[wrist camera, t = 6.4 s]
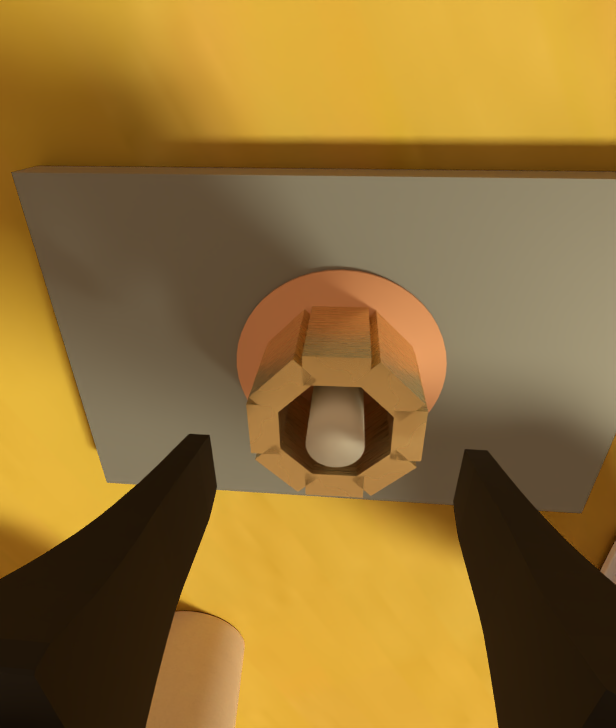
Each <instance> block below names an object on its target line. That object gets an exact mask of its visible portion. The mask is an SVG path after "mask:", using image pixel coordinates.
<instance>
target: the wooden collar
mask: <svg viewBox="0 0 616 728" xmlns="http://www.w3.org/2000/svg"><path fill="white" fill-rule="evenodd" d="M311 385H313V386H341V387H361V388H362V389H364V390H365V391H366V392H367V393H368V394H369V395H370V396H371V397H372V398H374V400H373V401H371V402H370V403H368V404H367V405H366V406H364V436H365V448H364V452H363V454H362V456H361V457H360V458H359V459H358V460H357V461H356V462H354V463H353V464H351V465H348V466H344V467H329V466H325V465H322V464H320V463H318V462H317V461H315V460H314V459H313V458H312V457H311V456H310V455H309V453H308V451H307V449H306V436H307V429H308V422H309V415H310V408H311V403H310V402H309V401H307V400H306V399H305V398H304V397H303V396H302V395H300V394H301V393H303V392H304V391H305V390H306V389H307V388H309V387H310V386H311ZM246 409H247V418H248V428H249V438H250V448H251V453H257V454H256V458H255V460H256V461H258V462H259V463H260V464H262V465H263V466H264V467H266V468H267V469H268V470H270V471H271V472H272V473H274V474H275V475H276V476H278V477H279V478H280V479H281V480H283V481H284V482H285V483H287V484H288V485H289V486H291V487H292V488H293V489H295V490H296V491H297V492H298V491H300V490H301V489H303V488H304V487H305V493H306V495H322V496H340V497H357V498H363V490H364V491H365V492H367V493H368V494H369V495H370V496H371V495H373V494H375V493H376V492H378V491H380V490H381V489H383V488H384V487H386V486H388V485H389V484H391V483H392V482H394V481H396V480H397V479H399V478H400V477H402V476H404V475H405V474H407V473H409V472H410V471H412V470H413V469H415V468H417V467H416V461H421V458H422V451H423V444H424V437H425V430H426V423H427V416H428V409H427V404H426V400H425V395H424V391H423V386H422V382H421V377H420V373H419V368H418V364H417V359H416V354H415V353H414V350H413V346H412V345H411V344H410V343H408V342H407V341H406V340H405V339H404V338H403V337H402V336H401V335H400V334H399V333H398V332H397V331H396V330H395V329H394V328H393V327H392V326H391V325H390V324H389V323H388V322H387V321H386V320H385V319H384V318H383V317H382V316H381V315H380V314H379V313H378V312H377V311H375V312H374V313H373V314H372V315H370V316H369V307H327V306H312V309H311V314H309V313H308V312H307V311H306V310H305V309H304V310H303V311H302V312H301V313H300V314H299V315H297V316H296V317H295V318H294V319H293V320H292V321H291V322H290V323H289V324H288V325H287V326H285V327H284V328H283V329H282V330H281V331H280V332H279V333H278V334H277V335H276V336H275V337H274V338H272V339H271V340H270V341H269V342H268V344H267V347H266V349H265V351H264V354H263V357H262V360H261V363H260V366H259V369H258V372H257V374H256V377H255V380H254V383H253V386H252V389H251V392H250V395H249V397H248V400H247V403H246Z"/></svg>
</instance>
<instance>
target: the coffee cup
mask: <svg viewBox="0 0 616 728" xmlns="http://www.w3.org/2000/svg"><path fill="white" fill-rule="evenodd" d="M243 655H244V640H243V638H242V636H241V634H240V633H239V632H238V631H237V630H236V629H235V628H234V627H233V626H231V625H230V624H229V623H227V622H225V621H223V620H221V619H219V618H217V617H214V616H212V615H208V614H205V613H200V612H193V611H177V612H175V614H174V617H173V621H172V625H171V628H170V632H169V635H168V639H167V643H166V647H165V650H164V654H163V658H162V662H161V666H160V670H159V674H158V678H157V682H156V686H155V690H154V694H153V698H152V703H151V707H150V711H149V715H148V719H147V724H146V728H235V722H236V714H237V706H238V697H239V689H240V680H241V672H242V664H243Z"/></svg>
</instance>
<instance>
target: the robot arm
mask: <svg viewBox="0 0 616 728" xmlns="http://www.w3.org/2000/svg"><path fill="white" fill-rule="evenodd" d="M216 489H217V482H216V475H215V468H214V461H213V454H212V447H211V440H210V435H205V434H188V435H187V436H186V437H185V438H184V439H183V440H182V441H181V442H180V443H179V444H178V445H177V446H176V447H175V448H174V449H173V450H172V451H171V452H170V453H169V454H168V455H167V456H166V457H165V458H164V459H163V460H162V461H161V462H160V463H159V464H158V465H157V466H156V467H155V468H154V469H153V470H152V471H151V472H150V473H149V474H148V475H146V476H145V477H144V478H143V479H142V480H141V481H140V482H139V483H138V484H137V485H136V486H135V487H134V488H132V489H131V490H130V491H129V492H128V493H127V494H125V495H124V496H123V497H122V498H121V499H120V500H119V501H117V502H116V503H115V504H114V505H113V506H112V507H110V508H109V509H108V510H107V511H105V512H104V513H103V514H102V515H100V516H99V517H98V518H96V519H95V520H94V521H92V522H91V523H90V524H88V525H87V526H85V527H84V528H83V529H81V530H80V531H78V532H77V533H76V534H74V535H73V536H71V537H70V538H68V539H66V540H65V541H63V542H62V543H60V544H59V545H57V546H56V547H54V548H53V549H51V550H49V551H48V552H46V553H45V554H43V555H42V556H40V557H38V558H37V559H35V560H33V561H31V562H30V563H28V564H26V565H25V566H23V567H21V568H19V569H17V570H16V571H14V572H12V573H10V574H8V575H6V576H5V577H3V578H1V579H0V728H146V724H147V719H148V715H149V711H150V707H151V703H152V698H153V694H154V690H155V686H156V682H157V678H158V674H159V670H160V666H161V662H162V658H163V654H164V650H165V647H166V643H167V639H168V635H169V632H170V628H171V625H172V621H173V617H174V614H175V610H176V607H177V604H178V601H179V598H180V595H181V592H182V589H183V586H184V584H185V581H186V579H187V576H188V573H189V571H190V568H191V566H192V563H193V560H194V558H195V555H196V553H197V550H198V547H199V545H200V542H201V540H202V537H203V534H204V532H205V529H206V526H207V524H208V521H209V518H210V514H211V510H212V506H213V502H214V498H215V494H216ZM453 505H454V513H455V520H456V527H457V533H458V538H459V542H460V546H461V550H462V554H463V557H464V561H465V565H466V568H467V572H468V576H469V579H470V583H471V587H472V590H473V594H474V598H475V601H476V605H477V609H478V612H479V616H480V620H481V625H482V629H483V634H484V639H485V645H486V651H487V657H488V663H489V668H490V674H491V681H492V687H493V694H494V700H495V706H496V713H497V720H498V727H499V728H616V541H615V543H614V545H613V547H612V549H611V551H610V552H609V554H608V556H607V558H606V560H605V562H604V564H603V566H602V568H601V570H600V571H599V570H598V569H597V568H596V567H595V566H594V565H592V564H591V563H590V562H589V561H588V560H587V559H586V558H585V557H584V556H582V555H581V554H580V553H579V552H578V551H577V550H576V549H575V548H574V547H573V546H572V545H571V544H569V543H568V542H567V541H566V540H565V539H564V538H563V537H562V536H561V535H560V534H559V532H558V531H557V530H556V529H555V528H554V527H553V526H552V525H551V524H550V523H549V522H548V521H547V520H546V519H545V518H544V517H543V516H542V515H541V513H540V512H539V511H538V510H537V509H536V508H535V507H534V506H533V504H532V503H531V502H530V501H529V500H528V499H527V498H526V496H525V495H524V494H523V493H522V492H521V491H520V489H519V488H518V487H517V486H516V485H515V483H514V482H513V481H512V480H511V479H510V477H509V476H508V475H507V474H506V472H505V471H504V470H503V469H502V467H501V466H500V465H499V464H498V462H497V461H496V460H495V459H494V458H493V456H492V455H491V454H490V453H489V452H488V450H474V449H465V450H464V454H463V459H462V463H461V468H460V472H459V477H458V481H457V486H456V490H455V495H454V499H453Z"/></svg>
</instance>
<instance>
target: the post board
mask: <svg viewBox="0 0 616 728" xmlns="http://www.w3.org/2000/svg"><path fill="white" fill-rule="evenodd" d="M11 173H12V176H13V179H14V182H15V186H16V189H17V192H18V195H19V199H20V202H21V205H22V208H23V212H24V215H25V218H26V221H27V225H28V228H29V231H30V234H31V238H32V241H33V244H34V247H35V251H36V254H37V257H38V260H39V264H40V267H41V270H42V273H43V277H44V280H45V283H46V286H47V290H48V293H49V296H50V299H51V303H52V306H53V309H54V312H55V315H56V319H57V322H58V325H59V328H60V332H61V335H62V338H63V341H64V345H65V348H66V351H67V354H68V358H69V361H70V364H71V367H72V371H73V374H74V377H75V380H76V384H77V387H78V390H79V393H80V397H81V400H82V403H83V406H84V410H85V413H86V416H87V419H88V423H89V426H90V429H91V432H92V436H93V439H94V442H95V445H96V449H97V452H98V455H99V458H100V461H101V465H102V468H103V471H104V474H105V478H106V481H107V483H122V484H138V483H139V482H140V481H141V480H142V479H143V478H144V477H145V476H146V475H148V474H149V473H150V472H151V471H152V470H153V469H154V468H155V467H156V466H157V465H158V464H159V463H160V462H161V461H162V460H163V459H164V458H165V457H166V456H167V455H168V454H169V453H170V452H171V451H172V450H173V449H174V448H175V447H176V446H177V445H178V444H179V443H180V442H181V441H182V440H183V439H184V438H185V437H186V436H187V435H188V434H205V435H210V440H211V447H212V454H213V461H214V468H215V475H216V482H217V489H216V490H230V491H245V492H261V493H276V494H291V495H306V493H305V487H304V488H303V489H301V490H300V491H298V492H297V491H296V490H295V489H293V488H292V487H291V486H289V485H288V484H287V483H285V482H284V481H283V480H281V479H280V478H279V477H278V476H276V475H275V474H274V473H272V472H271V471H270V470H268V469H267V468H266V467H264V466H263V465H262V464H260V463H259V462H258V461H256V460H255V458H256V454H257V453H251V448H250V438H249V428H248V418H247V409H246V403H247V400H248V397H249V395H250V392H251V389H252V386H253V383H254V380H255V377H256V374H257V372H258V369H259V366H260V363H261V360H262V357H263V354H264V351H265V349H266V347H267V344H268V342H269V341H270V340H271V339H272V338H274V337H275V336H276V335H277V334H278V333H279V332H280V331H281V330H282V329H283V328H284V327H285V326H287V325H288V324H289V323H290V322H291V321H292V320H293V319H294V318H295V317H296V316H297V315H299V314H300V313H301V312H302V311H303V310H304V309H305V310H306V311H307V312H308V313H309V314H311V309H312V306H327V307H369V316H370V315H372V314H373V313H374V312H375V311H377V312H378V313H379V314H380V315H381V316H382V317H383V318H384V319H385V320H386V321H387V322H388V323H389V324H390V325H391V326H392V327H393V328H394V329H395V330H396V331H397V332H398V333H399V334H400V335H401V336H402V337H403V338H404V339H405V340H406V341H407V342H408V343H410V344H411V345H412V346H413V350H414V353H415V354H416V359H417V364H418V368H419V373H420V377H421V382H422V386H423V391H424V395H425V400H426V404H427V409H428V416H427V423H426V430H425V437H424V444H423V451H422V458H421V461H416V467H417V468H415V469H413V470H412V471H410V472H409V473H407V474H405V475H404V476H402V477H400V478H399V479H397V480H396V481H394V482H392V483H391V484H389V485H388V486H386V487H384V488H383V489H381V490H380V491H378V492H376V493H375V494H373V495H371V496H370V495H369V494H368V493H367V492H365V491H364V490H363V498H357V497H340V496H322V495H307V496H322V497H338V498H353V499H368V500H384V501H399V502H415V503H430V504H445V505H453V499H454V495H455V490H456V486H457V481H458V477H459V472H460V468H461V463H462V459H463V454H464V450H465V449H474V450H488V452H489V453H490V454H491V455H492V456H493V458H494V459H495V460H496V461H497V462H498V464H499V465H500V466H501V467H502V469H503V470H504V471H505V472H506V474H507V475H508V476H509V477H510V479H511V480H512V481H513V482H514V483H515V485H516V486H517V487H518V488H519V489H520V491H521V492H522V493H523V494H524V495H525V496H526V498H527V499H528V500H529V501H530V502H531V503H532V504H533V506H534V507H535V508H536V509H537V510H538V511H553V512H568V513H582V511H583V509H584V506H585V504H586V502H587V499H588V497H589V495H590V492H591V490H592V488H593V485H594V483H595V481H596V478H597V476H598V474H599V471H600V469H601V467H602V464H603V462H604V460H605V457H606V455H607V453H608V450H609V448H610V446H611V443H612V441H613V439H614V436H615V434H616V171H516V170H415V169H314V168H212V167H111V166H35V167H31V168H27V169H23V170H19V171H15V172H11ZM300 395H302V396H303V397H304V398H305V399H306V400H307V401H309V402H310V403H311V408H310V415H309V422H308V429H307V436H306V449H307V451H308V453H309V455H310V456H311V457H312V458H313V459H314V460H315V461H317V462H318V463H320V464H322V465H325V466H329V467H344V466H348V465H351V464H353V463H354V462H356V461H357V460H358V459H359V458H360V457H361V456H362V454H363V452H364V448H365V436H364V406H366V405H367V404H368V403H370V402H371V401H373V400H374V398H372V397H371V396H370V395H369V394H368V393H367V392H366V391H365V390H364V389H362V388H361V387H341V386H313V385H311V386H310V387H309V388H307V389H306V390H305V391H304V392H303V393H301V394H300Z"/></svg>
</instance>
